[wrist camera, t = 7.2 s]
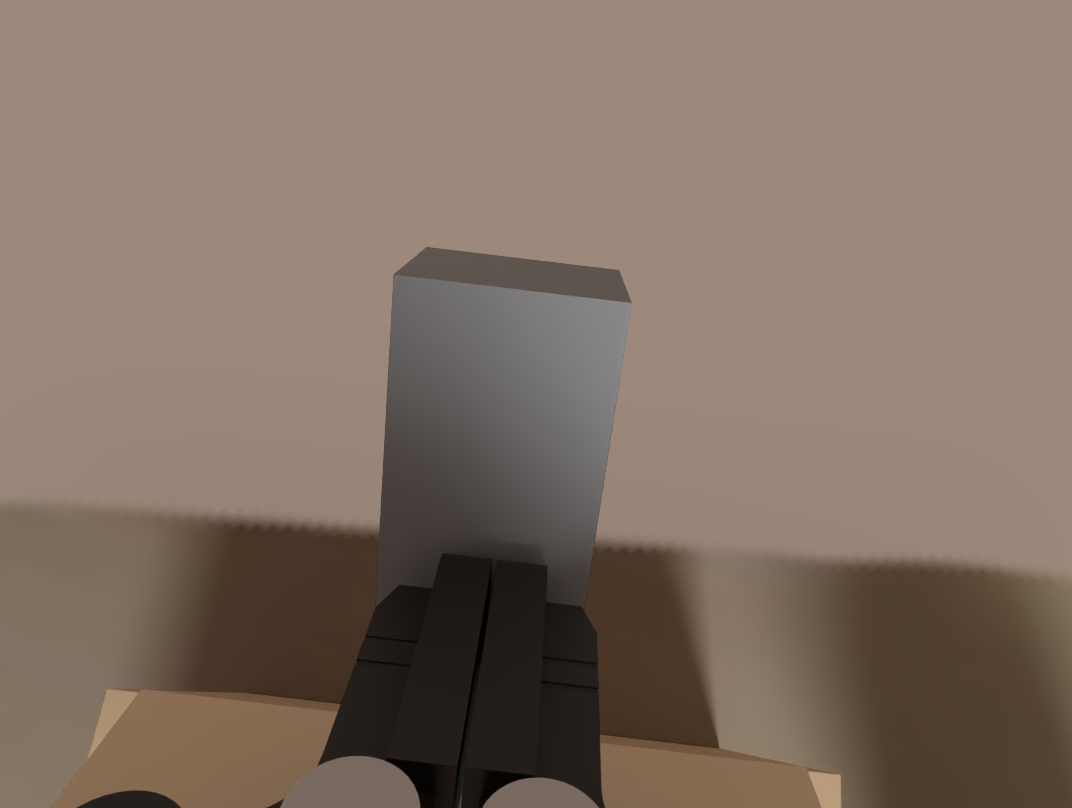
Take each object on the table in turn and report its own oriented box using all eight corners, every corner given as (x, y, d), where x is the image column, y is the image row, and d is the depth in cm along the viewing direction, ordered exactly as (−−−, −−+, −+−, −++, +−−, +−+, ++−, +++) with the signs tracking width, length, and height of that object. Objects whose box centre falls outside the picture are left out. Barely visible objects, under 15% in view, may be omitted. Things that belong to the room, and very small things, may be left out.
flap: (-86, 1024, 11) (-247, 251, 7) (142, 712, 17) (112, 199, 13) (925, 1141, 11) (1231, 428, 7) (799, 789, 17) (939, 298, 13)
